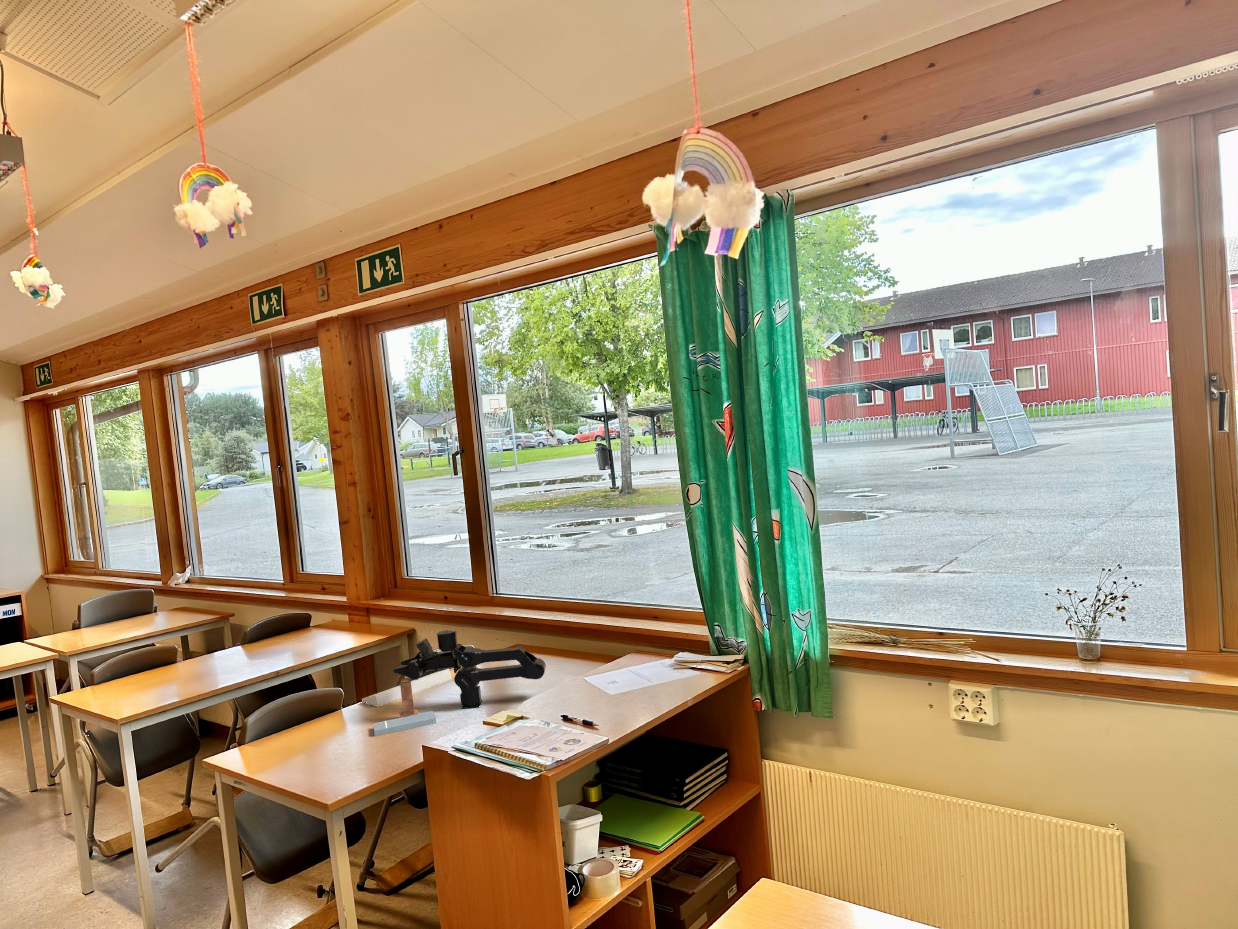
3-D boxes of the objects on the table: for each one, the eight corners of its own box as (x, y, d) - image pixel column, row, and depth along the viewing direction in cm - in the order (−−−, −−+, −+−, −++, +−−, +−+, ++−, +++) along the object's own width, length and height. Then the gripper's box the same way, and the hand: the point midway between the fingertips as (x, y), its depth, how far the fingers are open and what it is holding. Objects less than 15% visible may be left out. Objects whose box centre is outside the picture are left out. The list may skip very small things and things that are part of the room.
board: (433, 716, 268) (433, 710, 268) (436, 723, 260) (435, 717, 260) (373, 728, 261) (373, 723, 261) (374, 736, 253) (374, 730, 253)
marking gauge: (417, 714, 271) (413, 676, 271) (418, 719, 266) (414, 679, 266) (399, 718, 269) (395, 679, 269) (401, 722, 264) (396, 683, 264)
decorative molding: (364, 711, 289) (378, 708, 283) (361, 699, 290) (375, 695, 284) (438, 684, 316) (452, 680, 310) (434, 672, 317) (449, 668, 310)
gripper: (443, 632, 284) (401, 638, 283) (431, 645, 265) (386, 651, 265) (447, 662, 284) (405, 667, 284) (435, 677, 265) (390, 683, 265)
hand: (397, 667), depth 274 cm, fingers open, 9 cm apart
